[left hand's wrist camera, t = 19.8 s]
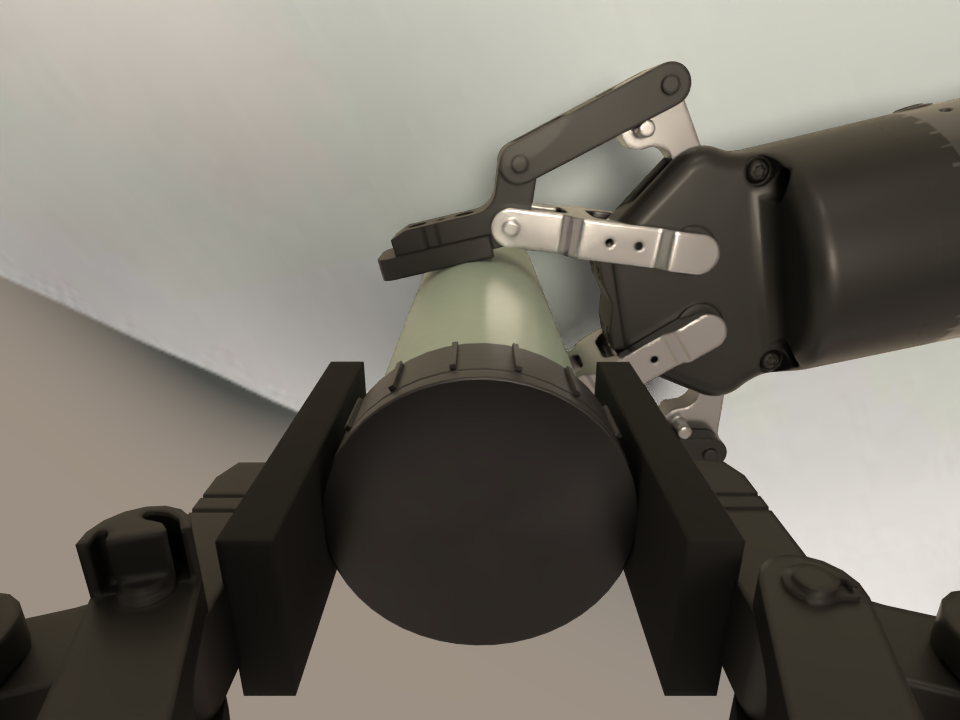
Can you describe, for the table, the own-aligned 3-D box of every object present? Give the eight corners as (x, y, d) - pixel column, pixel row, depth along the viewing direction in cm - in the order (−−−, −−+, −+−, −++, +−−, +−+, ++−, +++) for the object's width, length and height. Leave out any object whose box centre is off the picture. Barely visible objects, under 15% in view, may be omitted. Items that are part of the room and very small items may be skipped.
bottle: (465, 352, 28) (445, 640, 12) (404, 266, 27) (292, 464, 11) (554, 297, 27) (659, 530, 11) (496, 204, 26) (523, 323, 10)
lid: (291, 398, 11) (261, 441, 10) (571, 297, 11) (587, 326, 9) (406, 614, 13) (396, 679, 12) (652, 540, 12) (677, 599, 11)
